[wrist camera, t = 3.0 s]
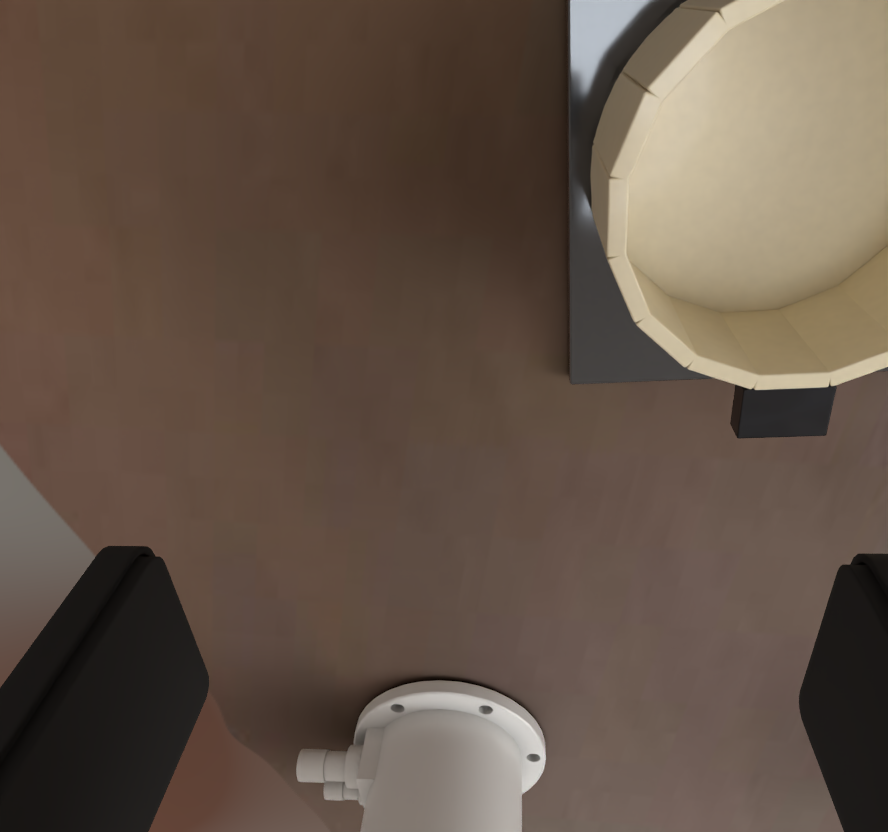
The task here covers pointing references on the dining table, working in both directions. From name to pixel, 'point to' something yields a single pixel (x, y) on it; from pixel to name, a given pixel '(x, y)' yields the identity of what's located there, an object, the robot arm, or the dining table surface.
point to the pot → (754, 199)
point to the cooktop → (589, 274)
